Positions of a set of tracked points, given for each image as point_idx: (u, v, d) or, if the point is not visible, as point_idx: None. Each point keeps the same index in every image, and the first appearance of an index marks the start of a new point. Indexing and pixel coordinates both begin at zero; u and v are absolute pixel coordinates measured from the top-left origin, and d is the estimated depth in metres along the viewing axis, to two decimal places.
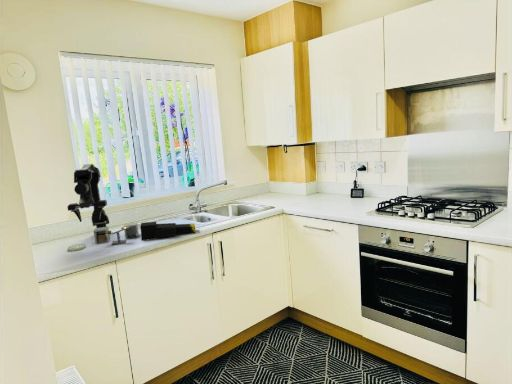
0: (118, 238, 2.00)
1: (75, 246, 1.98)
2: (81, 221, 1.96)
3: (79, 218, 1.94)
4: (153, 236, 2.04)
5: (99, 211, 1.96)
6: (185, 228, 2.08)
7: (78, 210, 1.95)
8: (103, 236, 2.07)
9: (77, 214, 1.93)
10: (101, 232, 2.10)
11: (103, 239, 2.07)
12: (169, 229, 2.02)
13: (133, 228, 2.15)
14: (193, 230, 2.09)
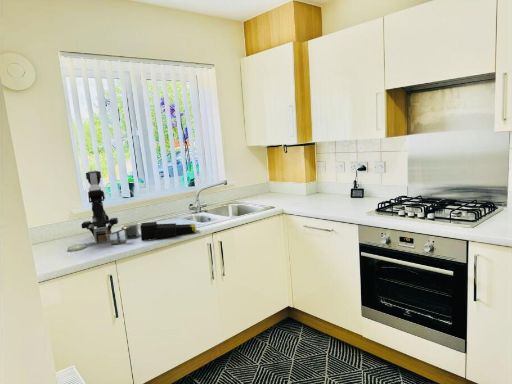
0: (118, 238, 2.00)
1: (75, 246, 1.98)
2: None
3: None
4: (153, 236, 2.03)
5: (109, 229, 2.08)
6: (185, 228, 2.07)
7: (93, 227, 2.07)
8: (103, 236, 2.07)
9: (92, 231, 2.06)
10: (101, 232, 2.10)
11: (103, 239, 2.07)
12: (169, 229, 2.02)
13: (133, 228, 2.15)
14: (193, 230, 2.08)
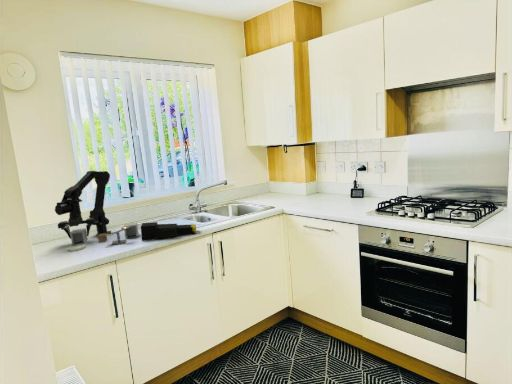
0: (118, 238, 2.00)
1: (75, 246, 1.98)
2: None
3: (69, 235, 2.07)
4: (154, 237, 2.03)
5: (88, 228, 2.08)
6: (186, 229, 2.06)
7: (68, 228, 2.08)
8: (103, 236, 2.07)
9: (67, 231, 2.06)
10: (78, 234, 2.11)
11: (103, 239, 2.07)
12: (169, 230, 2.01)
13: (133, 228, 2.15)
14: (194, 231, 2.07)
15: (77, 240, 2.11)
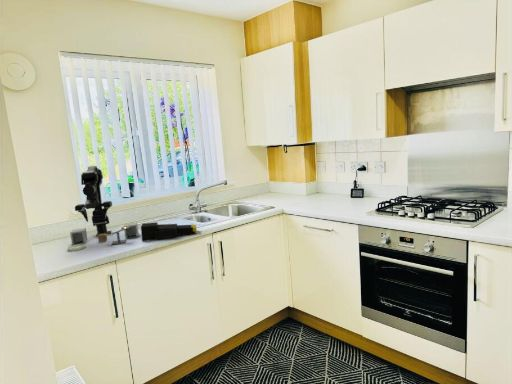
0: (118, 238, 2.00)
1: (75, 246, 1.98)
2: None
3: (86, 218, 2.05)
4: (154, 237, 2.02)
5: (104, 212, 2.06)
6: (186, 229, 2.05)
7: (85, 210, 2.05)
8: (103, 236, 2.07)
9: (84, 214, 2.04)
10: (78, 234, 2.11)
11: (103, 239, 2.07)
12: (170, 230, 2.00)
13: (133, 228, 2.15)
14: (194, 231, 2.06)
15: (77, 240, 2.11)
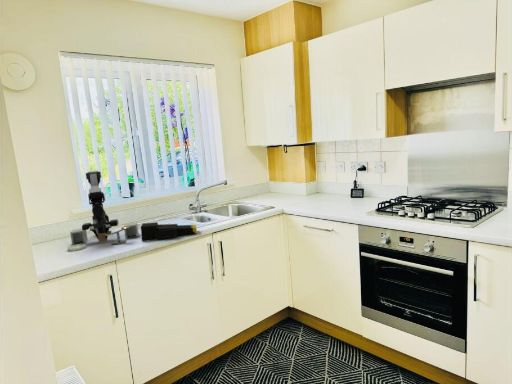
0: (118, 238, 2.00)
1: (75, 246, 1.98)
2: None
3: (97, 236, 2.07)
4: (154, 237, 2.02)
5: None
6: (186, 229, 2.04)
7: (96, 229, 2.08)
8: (103, 236, 2.07)
9: (95, 233, 2.06)
10: (78, 234, 2.11)
11: (103, 239, 2.07)
12: (169, 230, 2.00)
13: (133, 228, 2.15)
14: (194, 231, 2.05)
15: (77, 240, 2.11)
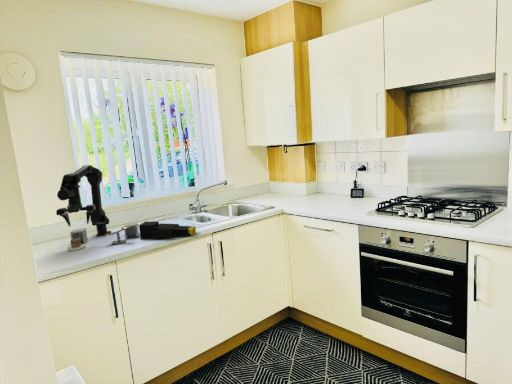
0: (118, 238, 2.00)
1: None
2: None
3: (68, 222, 1.98)
4: None
5: (87, 215, 1.99)
6: (182, 231, 2.02)
7: (67, 215, 1.98)
8: (76, 241, 1.95)
9: (66, 218, 1.97)
10: (78, 234, 2.11)
11: (76, 244, 1.95)
12: (164, 231, 2.00)
13: (133, 228, 2.15)
14: (190, 233, 2.02)
15: None
